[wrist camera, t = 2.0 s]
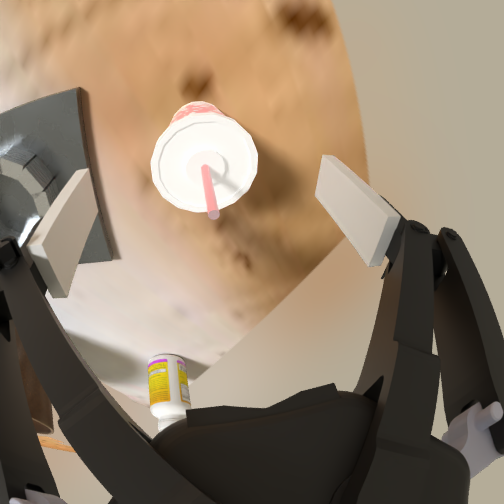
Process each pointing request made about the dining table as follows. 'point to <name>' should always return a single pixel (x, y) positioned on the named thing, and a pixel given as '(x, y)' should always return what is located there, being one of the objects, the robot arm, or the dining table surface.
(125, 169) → the dining table surface
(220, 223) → the dining table surface
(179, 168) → the beverage cup
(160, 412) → the supplement bottle
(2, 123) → the sleeve block
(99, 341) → the dining table surface
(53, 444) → the dining table surface
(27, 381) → the plant pot
